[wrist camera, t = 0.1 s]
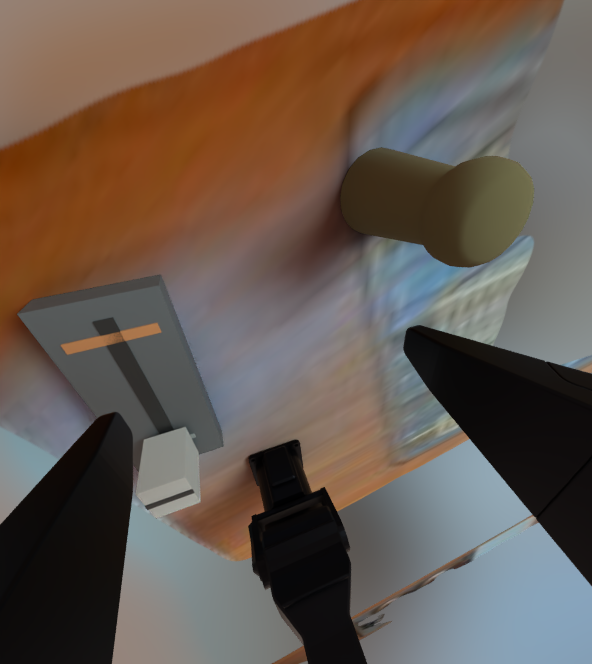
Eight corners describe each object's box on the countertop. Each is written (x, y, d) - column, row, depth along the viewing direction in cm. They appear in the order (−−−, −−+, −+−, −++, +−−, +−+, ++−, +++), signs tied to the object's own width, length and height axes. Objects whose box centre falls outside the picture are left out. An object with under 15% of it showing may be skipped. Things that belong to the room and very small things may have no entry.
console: (221, 430, 30) (223, 447, 28) (143, 455, 28) (140, 475, 27) (160, 274, 20) (158, 286, 18) (31, 299, 18) (16, 314, 16)
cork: (422, 181, 22) (574, 201, 14) (375, 247, 24) (482, 302, 15) (375, 126, 19) (535, 105, 10) (325, 207, 21) (424, 247, 12)
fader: (198, 452, 27) (200, 503, 23) (160, 465, 26) (156, 519, 22) (185, 426, 25) (185, 478, 21) (143, 439, 24) (135, 495, 20)
